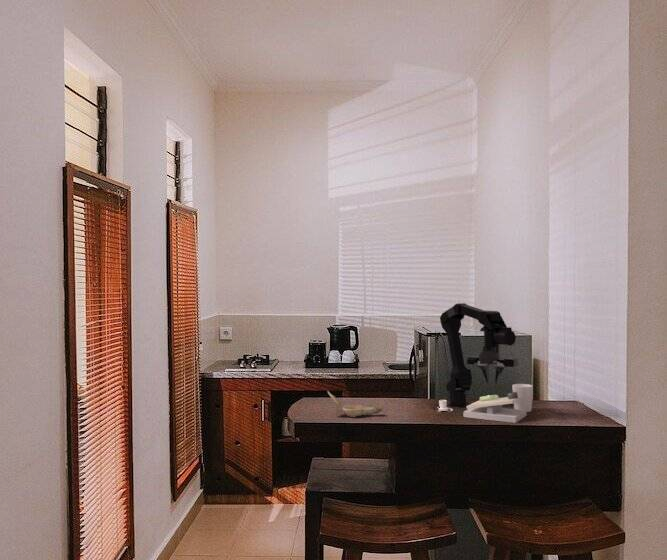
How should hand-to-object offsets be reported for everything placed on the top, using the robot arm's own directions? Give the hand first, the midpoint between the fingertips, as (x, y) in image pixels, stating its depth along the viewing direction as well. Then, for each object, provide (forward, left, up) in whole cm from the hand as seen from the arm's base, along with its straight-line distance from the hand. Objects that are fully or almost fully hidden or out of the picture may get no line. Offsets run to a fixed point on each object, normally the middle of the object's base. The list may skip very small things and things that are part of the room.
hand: (492, 383), depth 240 cm
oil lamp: (-45, -29, -12) cm, 55 cm away
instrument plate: (+2, -3, -7) cm, 8 cm away
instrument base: (+2, -3, -12) cm, 13 cm away
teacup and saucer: (-22, -3, -13) cm, 26 cm away
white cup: (+8, +13, -12) cm, 20 cm away
